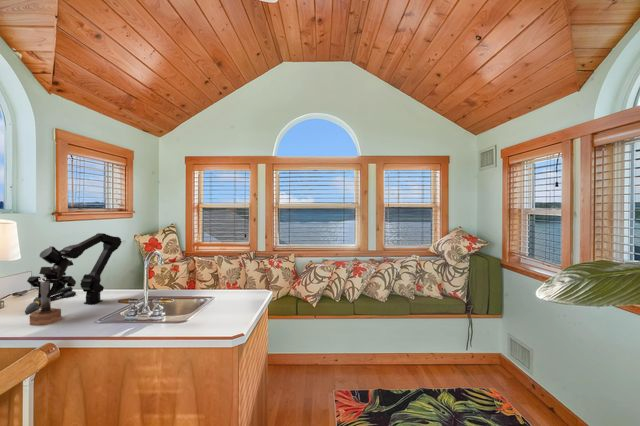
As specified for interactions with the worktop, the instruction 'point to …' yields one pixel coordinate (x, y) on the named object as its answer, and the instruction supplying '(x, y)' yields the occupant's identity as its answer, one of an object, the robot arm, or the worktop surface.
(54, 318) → the bead
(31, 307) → the paintbrush
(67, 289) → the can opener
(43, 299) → the brushed steel cylinder
